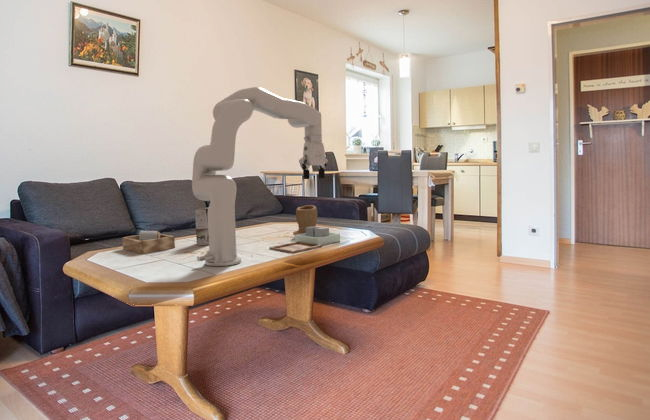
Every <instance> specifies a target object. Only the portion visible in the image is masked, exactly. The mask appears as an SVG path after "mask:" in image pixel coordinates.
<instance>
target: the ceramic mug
mask: <svg viewBox="0 0 650 420" xmlns="http://www.w3.org/2000/svg"><path fill="white" fill-rule="evenodd" d="M160 234H161V232H160V231H157V230H140V231H139V233H138V235H139V241H144V240H151V239H158V238H161V235H160Z"/></svg>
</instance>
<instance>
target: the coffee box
mask: <svg viewBox="0 0 650 420" xmlns="http://www.w3.org/2000/svg"><path fill="white" fill-rule="evenodd" d="M208 208H209V206H208V207H200V208H195V210H194V215H195V217H194V218H195V235H196V236H195V237H196V246H209V234H208V216H207V214H208Z"/></svg>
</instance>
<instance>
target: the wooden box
mask: <svg viewBox="0 0 650 420" xmlns="http://www.w3.org/2000/svg"><path fill="white" fill-rule="evenodd" d="M160 235H161V238H158V239H151V240H144V241H139V234H137V235H130V236H124V237H122V239H121V240H122V249H123V250H125V251H129V252H133V253H136V254H141V255H142V254H147V253H154V252H160V251H165V250H171V249H176V243H175V242H176V241H175V236H174V235H169V234H166V233H165V234H164V233H160Z"/></svg>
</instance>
